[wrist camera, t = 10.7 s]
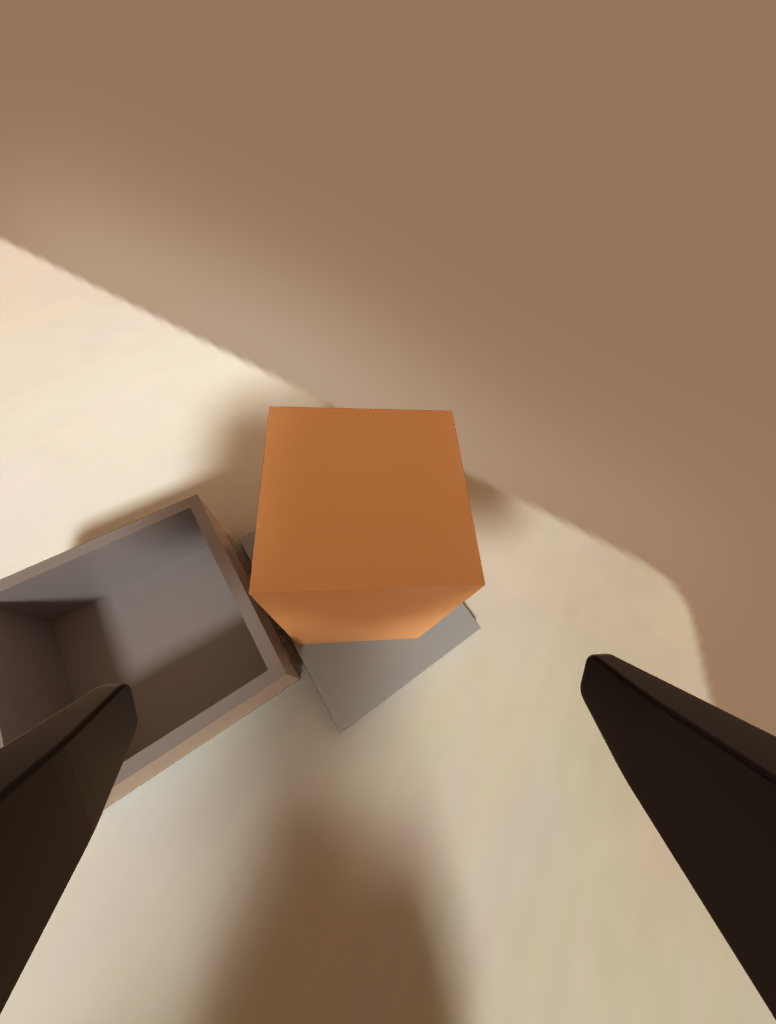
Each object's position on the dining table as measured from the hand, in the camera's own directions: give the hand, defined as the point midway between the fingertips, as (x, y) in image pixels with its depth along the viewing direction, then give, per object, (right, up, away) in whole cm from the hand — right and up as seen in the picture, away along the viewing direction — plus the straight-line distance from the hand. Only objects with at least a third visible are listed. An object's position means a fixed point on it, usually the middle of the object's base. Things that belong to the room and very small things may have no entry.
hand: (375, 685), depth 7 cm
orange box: (-1, 0, +12) cm, 12 cm away
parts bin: (-10, -3, +10) cm, 15 cm away
